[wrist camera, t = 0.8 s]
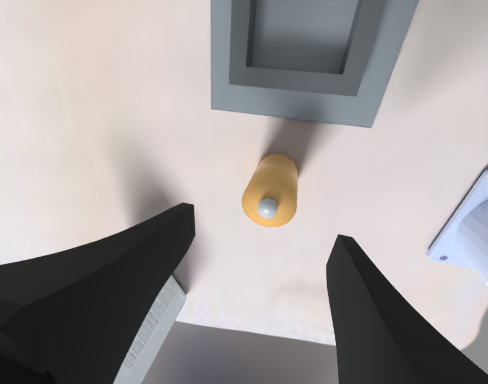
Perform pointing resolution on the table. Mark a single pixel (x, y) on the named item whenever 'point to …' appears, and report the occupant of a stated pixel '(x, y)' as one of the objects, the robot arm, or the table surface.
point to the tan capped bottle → (272, 191)
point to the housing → (306, 57)
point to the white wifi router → (152, 333)
